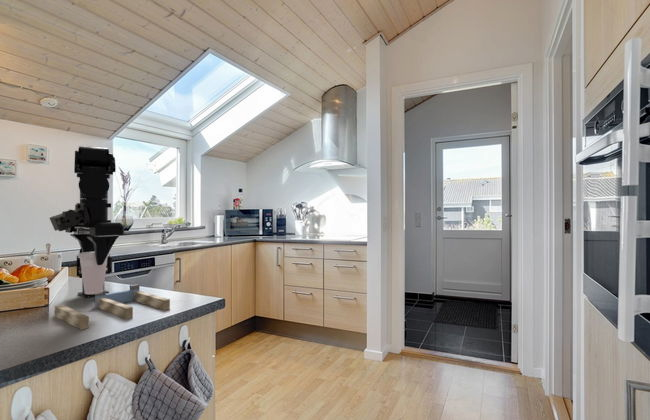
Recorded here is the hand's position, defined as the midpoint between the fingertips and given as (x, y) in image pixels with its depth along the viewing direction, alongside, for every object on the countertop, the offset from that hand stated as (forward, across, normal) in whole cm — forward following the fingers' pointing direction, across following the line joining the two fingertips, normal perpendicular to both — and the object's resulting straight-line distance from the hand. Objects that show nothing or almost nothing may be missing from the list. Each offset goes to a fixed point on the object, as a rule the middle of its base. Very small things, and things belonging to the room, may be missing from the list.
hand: (93, 263), depth 88 cm
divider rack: (+13, 0, +5) cm, 14 cm away
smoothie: (+7, 0, 0) cm, 7 cm away
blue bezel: (+13, -9, +9) cm, 18 cm away
